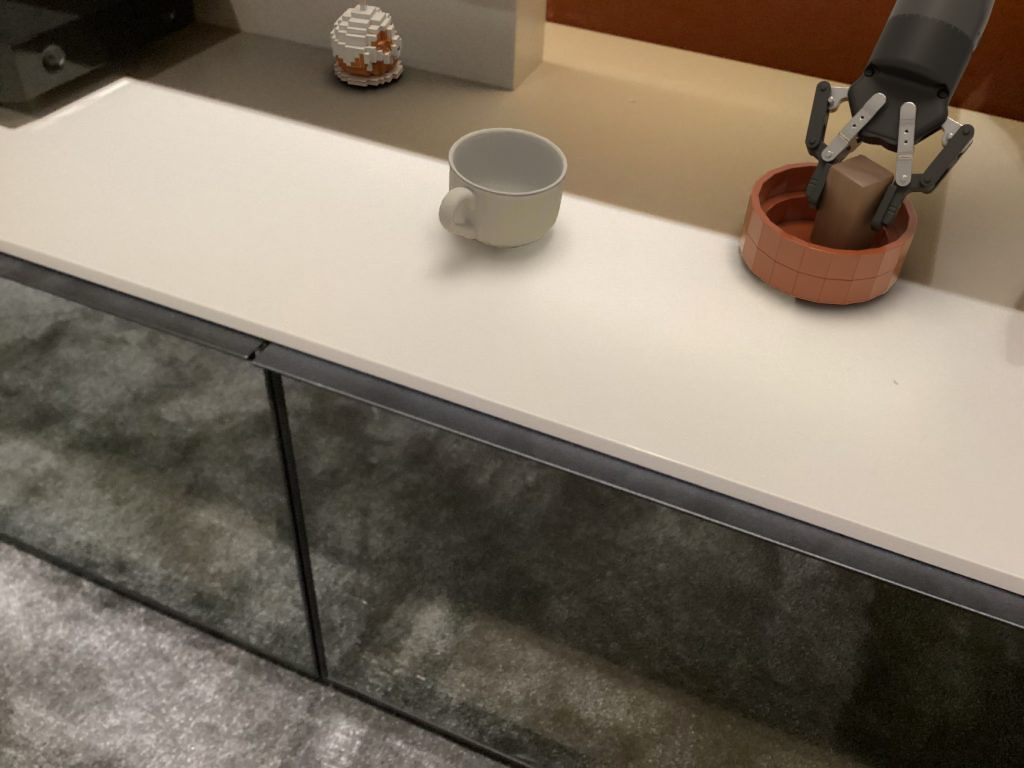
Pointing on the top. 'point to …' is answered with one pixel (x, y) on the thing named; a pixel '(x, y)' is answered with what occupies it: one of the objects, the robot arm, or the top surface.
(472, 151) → the teacup
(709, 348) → the top surface
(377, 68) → the decorative ornament
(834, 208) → the wooden block
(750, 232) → the bowl
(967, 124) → the robot arm
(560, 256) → the top surface
